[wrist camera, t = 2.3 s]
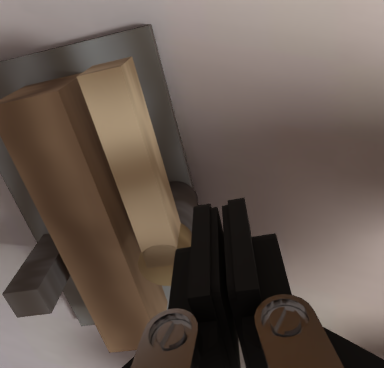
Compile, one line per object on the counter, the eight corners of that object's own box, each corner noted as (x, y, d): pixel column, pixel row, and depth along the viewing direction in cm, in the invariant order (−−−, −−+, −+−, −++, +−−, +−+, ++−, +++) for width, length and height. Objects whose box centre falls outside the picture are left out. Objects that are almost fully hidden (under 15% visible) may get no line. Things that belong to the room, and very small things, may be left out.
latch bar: (198, 255, 28) (196, 282, 25) (152, 262, 28) (146, 288, 26) (142, 54, 21) (132, 63, 18) (83, 67, 21) (65, 79, 19)
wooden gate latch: (155, 23, 26) (130, 40, 19) (225, 302, 39) (228, 378, 32) (-44, 72, 29) (-136, 104, 21) (84, 318, 42) (55, 392, 34)
